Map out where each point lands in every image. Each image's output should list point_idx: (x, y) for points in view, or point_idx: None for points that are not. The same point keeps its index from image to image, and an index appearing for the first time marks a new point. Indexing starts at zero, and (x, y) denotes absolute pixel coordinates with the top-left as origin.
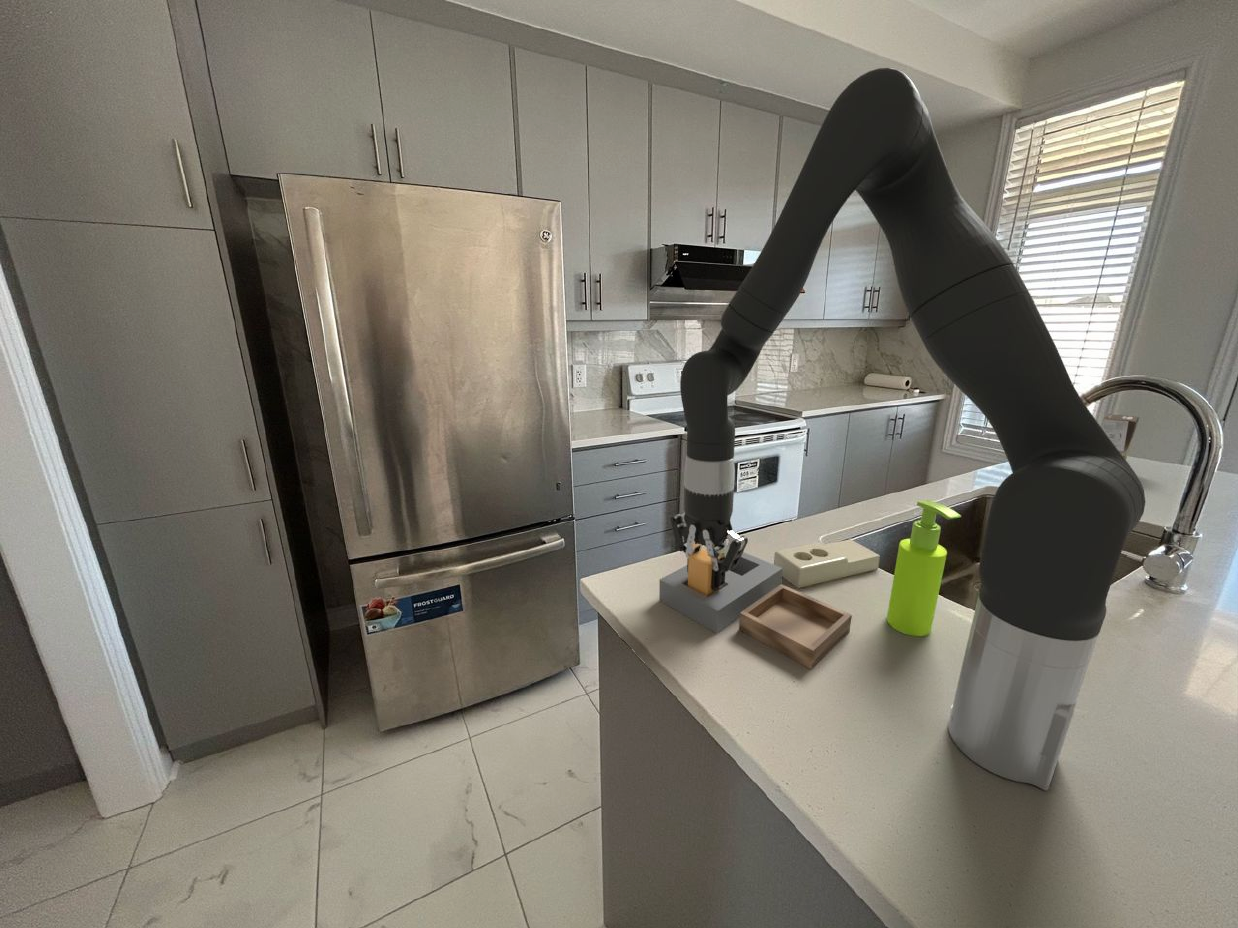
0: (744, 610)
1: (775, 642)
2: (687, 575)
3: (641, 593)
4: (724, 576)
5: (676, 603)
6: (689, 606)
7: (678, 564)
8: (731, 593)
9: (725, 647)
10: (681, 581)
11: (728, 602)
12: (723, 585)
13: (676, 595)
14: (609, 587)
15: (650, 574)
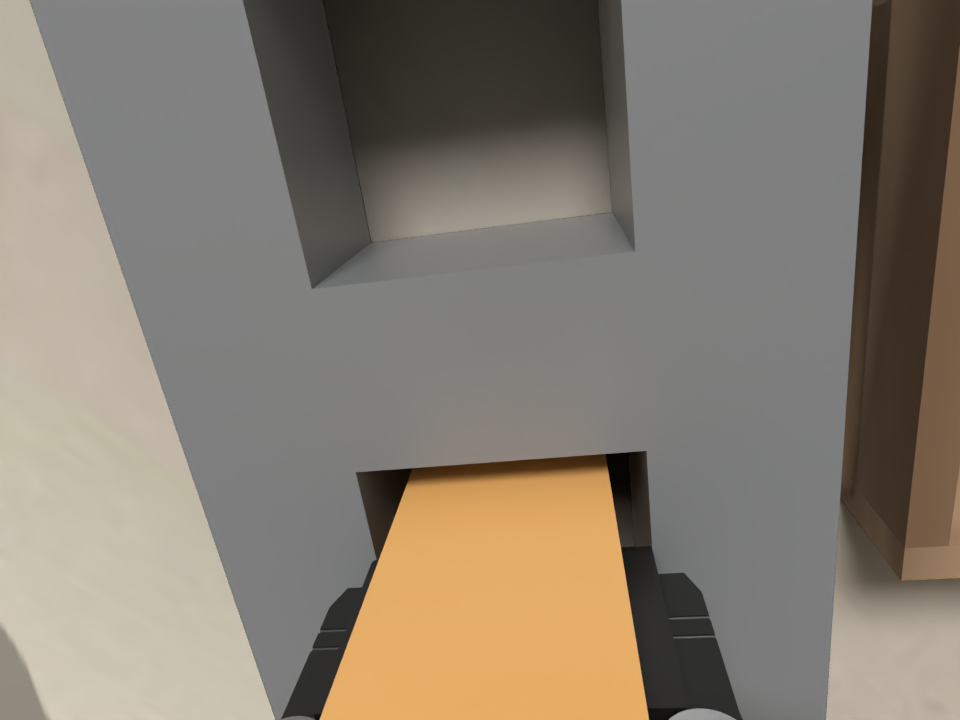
0: (913, 541)
1: None
2: (339, 593)
3: (228, 643)
4: (719, 657)
5: None
6: None
7: (5, 263)
8: (757, 535)
9: (871, 645)
10: None
11: (818, 632)
12: (685, 576)
13: None
14: (104, 714)
15: (62, 493)
